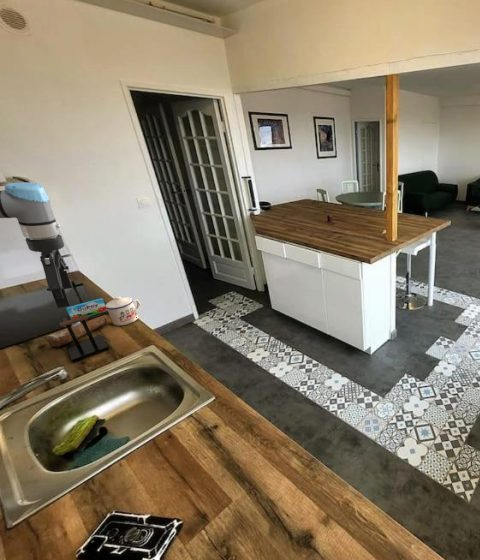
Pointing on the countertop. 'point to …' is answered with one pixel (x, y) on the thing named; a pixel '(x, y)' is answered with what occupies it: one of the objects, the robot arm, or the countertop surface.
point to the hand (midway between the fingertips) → (65, 297)
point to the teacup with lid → (122, 310)
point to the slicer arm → (74, 321)
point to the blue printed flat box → (87, 308)
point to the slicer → (85, 344)
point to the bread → (65, 337)
